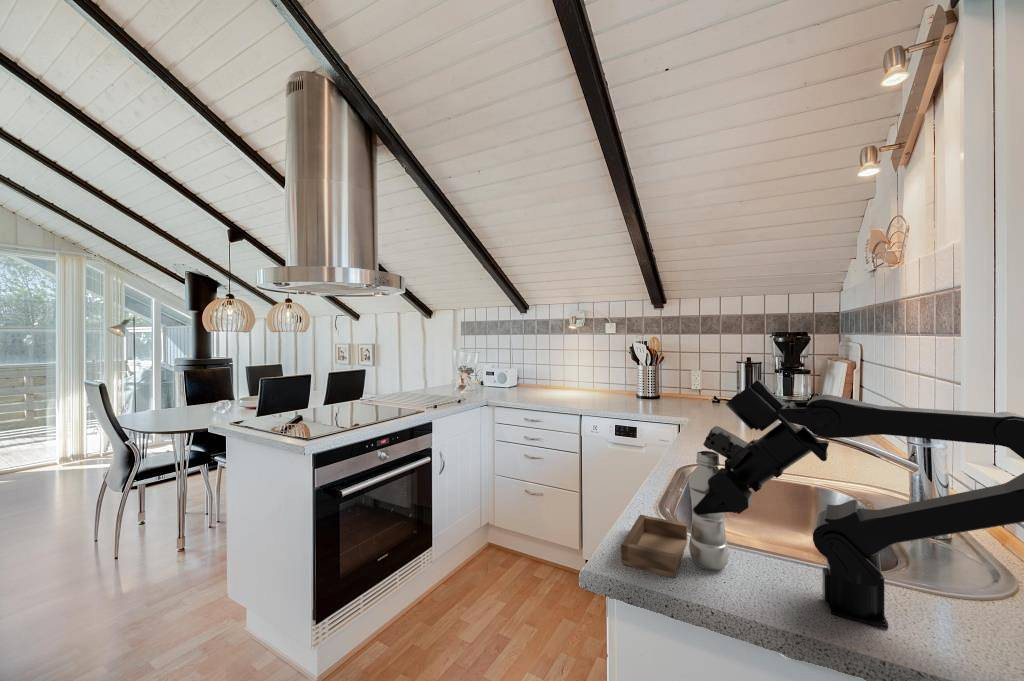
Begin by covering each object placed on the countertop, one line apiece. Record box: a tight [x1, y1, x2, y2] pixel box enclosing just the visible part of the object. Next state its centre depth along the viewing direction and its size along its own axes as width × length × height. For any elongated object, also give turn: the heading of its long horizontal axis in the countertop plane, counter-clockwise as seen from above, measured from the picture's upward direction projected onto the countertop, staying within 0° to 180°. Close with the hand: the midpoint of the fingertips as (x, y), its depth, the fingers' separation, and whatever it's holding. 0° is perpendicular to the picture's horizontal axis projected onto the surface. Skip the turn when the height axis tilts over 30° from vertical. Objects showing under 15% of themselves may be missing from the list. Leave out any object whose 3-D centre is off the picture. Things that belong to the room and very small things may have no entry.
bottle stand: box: [620, 514, 688, 579], centre depth 80 cm, size 9×14×4 cm, turn 150°
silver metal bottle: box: [688, 450, 730, 571], centre depth 75 cm, size 6×7×20 cm
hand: (702, 503), depth 76 cm, fingers open, 9 cm apart
